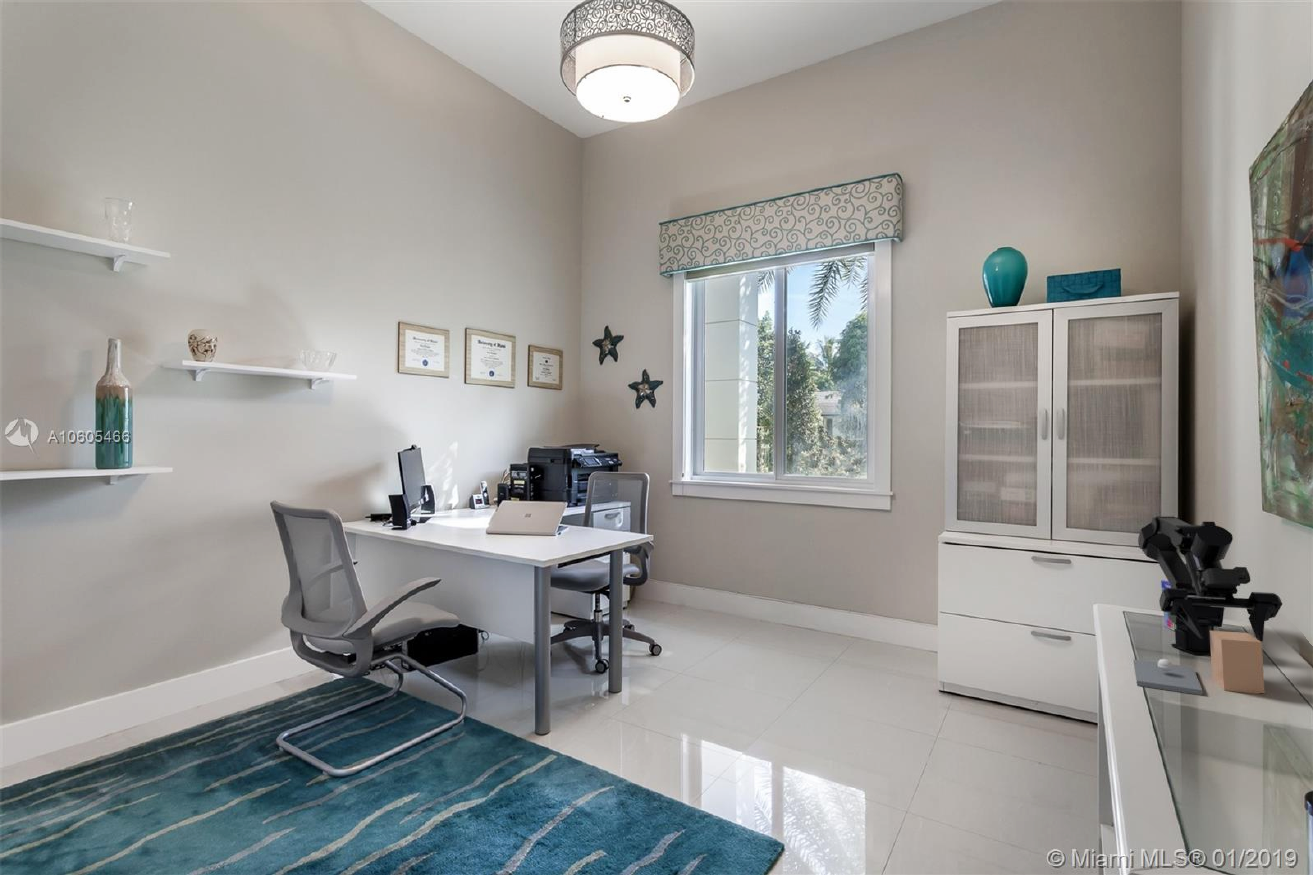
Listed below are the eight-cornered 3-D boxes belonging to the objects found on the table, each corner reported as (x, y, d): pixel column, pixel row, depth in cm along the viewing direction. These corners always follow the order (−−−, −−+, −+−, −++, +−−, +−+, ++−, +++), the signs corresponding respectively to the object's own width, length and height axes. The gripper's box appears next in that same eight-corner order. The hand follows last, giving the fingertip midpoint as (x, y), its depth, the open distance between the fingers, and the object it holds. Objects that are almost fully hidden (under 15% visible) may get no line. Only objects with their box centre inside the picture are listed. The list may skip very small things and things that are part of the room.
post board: (1133, 663, 136) (1132, 645, 136) (1193, 671, 131) (1192, 652, 131) (1137, 685, 125) (1136, 665, 125) (1202, 695, 119) (1201, 674, 119)
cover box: (1212, 679, 126) (1209, 630, 126) (1250, 682, 124) (1248, 633, 124) (1224, 690, 121) (1221, 639, 121) (1264, 694, 118) (1261, 642, 118)
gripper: (1160, 550, 133) (1180, 615, 123) (1275, 553, 125) (1306, 623, 115) (1151, 579, 140) (1169, 642, 130) (1259, 584, 132) (1288, 651, 122)
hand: (1230, 639), depth 124 cm, fingers open, 9 cm apart
